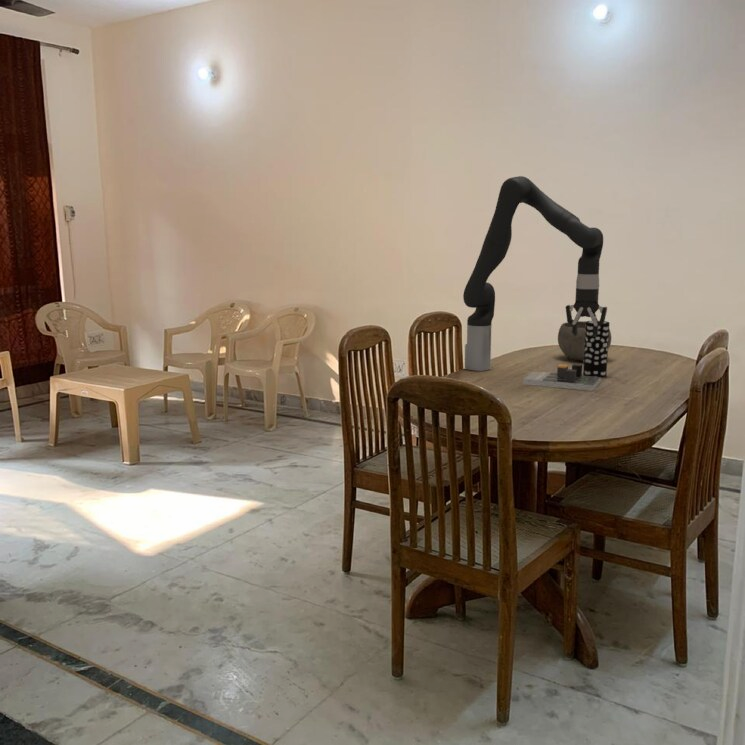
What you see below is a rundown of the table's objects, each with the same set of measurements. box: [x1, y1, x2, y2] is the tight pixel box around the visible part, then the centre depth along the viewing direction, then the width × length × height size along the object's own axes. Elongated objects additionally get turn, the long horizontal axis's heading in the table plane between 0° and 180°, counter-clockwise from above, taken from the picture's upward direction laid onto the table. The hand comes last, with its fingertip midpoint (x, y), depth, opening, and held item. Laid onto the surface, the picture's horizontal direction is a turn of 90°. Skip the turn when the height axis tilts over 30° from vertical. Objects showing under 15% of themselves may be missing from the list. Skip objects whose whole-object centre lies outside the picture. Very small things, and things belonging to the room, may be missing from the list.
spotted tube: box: [582, 320, 610, 379], centre depth 282 cm, size 8×8×20 cm
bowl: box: [557, 320, 612, 362], centre depth 313 cm, size 21×21×15 cm
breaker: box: [556, 364, 569, 378], centre depth 271 cm, size 3×3×4 cm
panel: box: [522, 363, 602, 392], centre depth 271 cm, size 24×14×6 cm, turn 64°
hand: (584, 335), depth 265 cm, fingers open, 5 cm apart
